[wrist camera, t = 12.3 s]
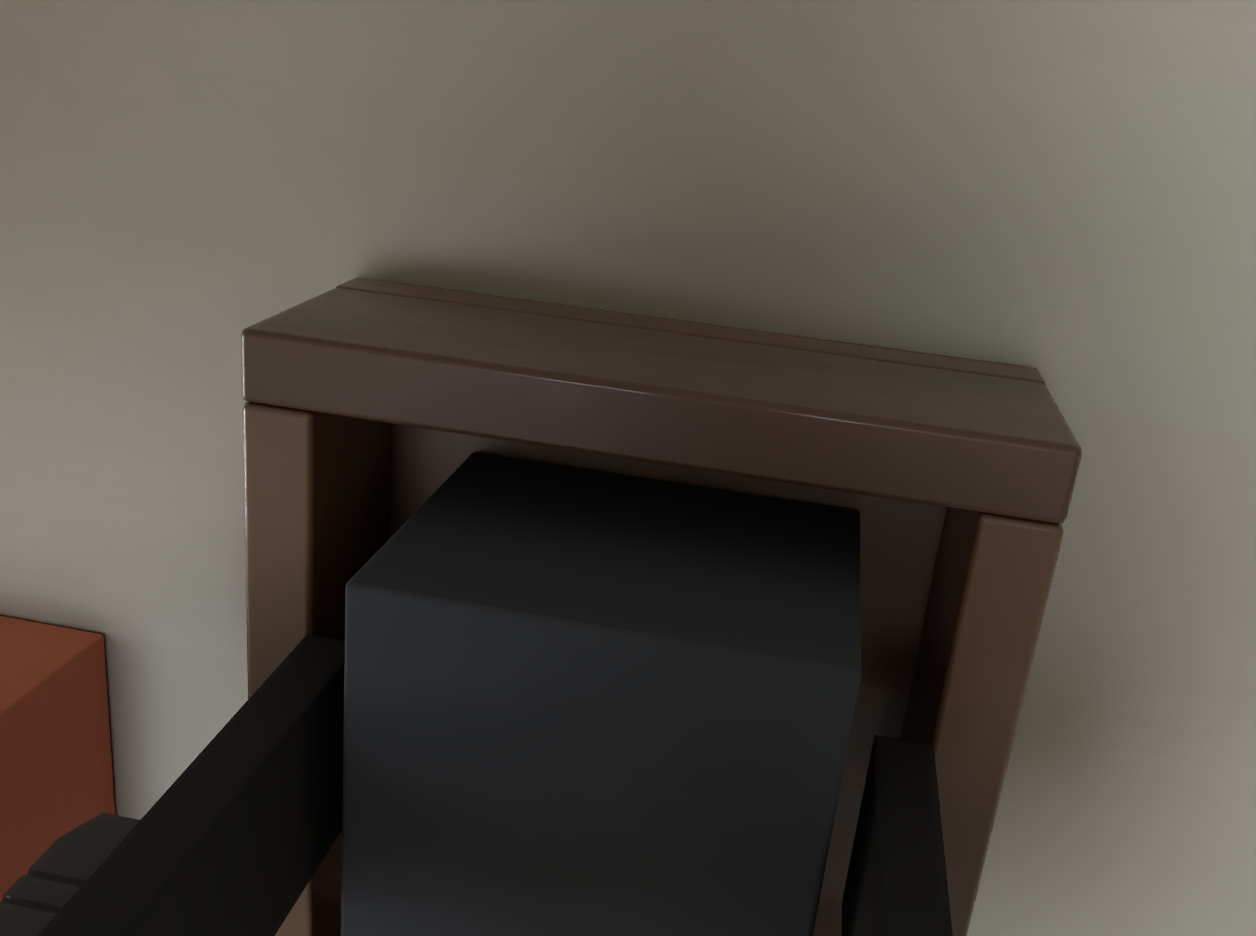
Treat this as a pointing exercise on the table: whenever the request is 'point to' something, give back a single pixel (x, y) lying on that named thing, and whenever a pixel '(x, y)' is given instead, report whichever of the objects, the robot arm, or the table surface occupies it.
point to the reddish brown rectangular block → (50, 739)
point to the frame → (687, 454)
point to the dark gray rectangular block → (597, 708)
